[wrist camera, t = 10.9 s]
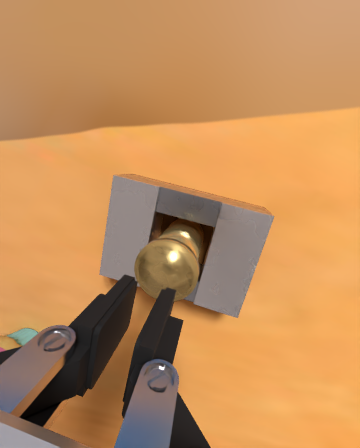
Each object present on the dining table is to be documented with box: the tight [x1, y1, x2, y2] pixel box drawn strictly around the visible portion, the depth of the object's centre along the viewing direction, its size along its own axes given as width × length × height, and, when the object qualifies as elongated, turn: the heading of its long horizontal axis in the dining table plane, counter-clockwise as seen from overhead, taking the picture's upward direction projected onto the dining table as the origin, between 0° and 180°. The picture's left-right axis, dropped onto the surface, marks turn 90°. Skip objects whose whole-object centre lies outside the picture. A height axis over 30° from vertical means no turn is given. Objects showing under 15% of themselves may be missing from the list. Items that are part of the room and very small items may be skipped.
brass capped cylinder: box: [134, 218, 204, 301], centre depth 20 cm, size 5×5×9 cm
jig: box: [99, 174, 274, 318], centre depth 22 cm, size 14×10×4 cm
